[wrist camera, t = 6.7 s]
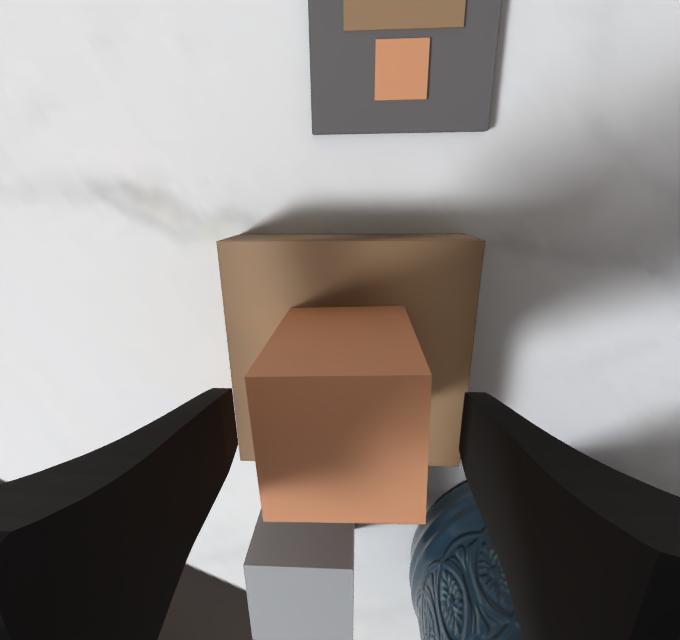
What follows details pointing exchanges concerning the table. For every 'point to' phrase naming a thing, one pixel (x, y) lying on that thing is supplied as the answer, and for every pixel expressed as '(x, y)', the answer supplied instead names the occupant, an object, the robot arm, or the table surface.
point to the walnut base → (358, 305)
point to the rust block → (341, 417)
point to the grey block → (300, 580)
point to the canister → (459, 575)
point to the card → (402, 65)
